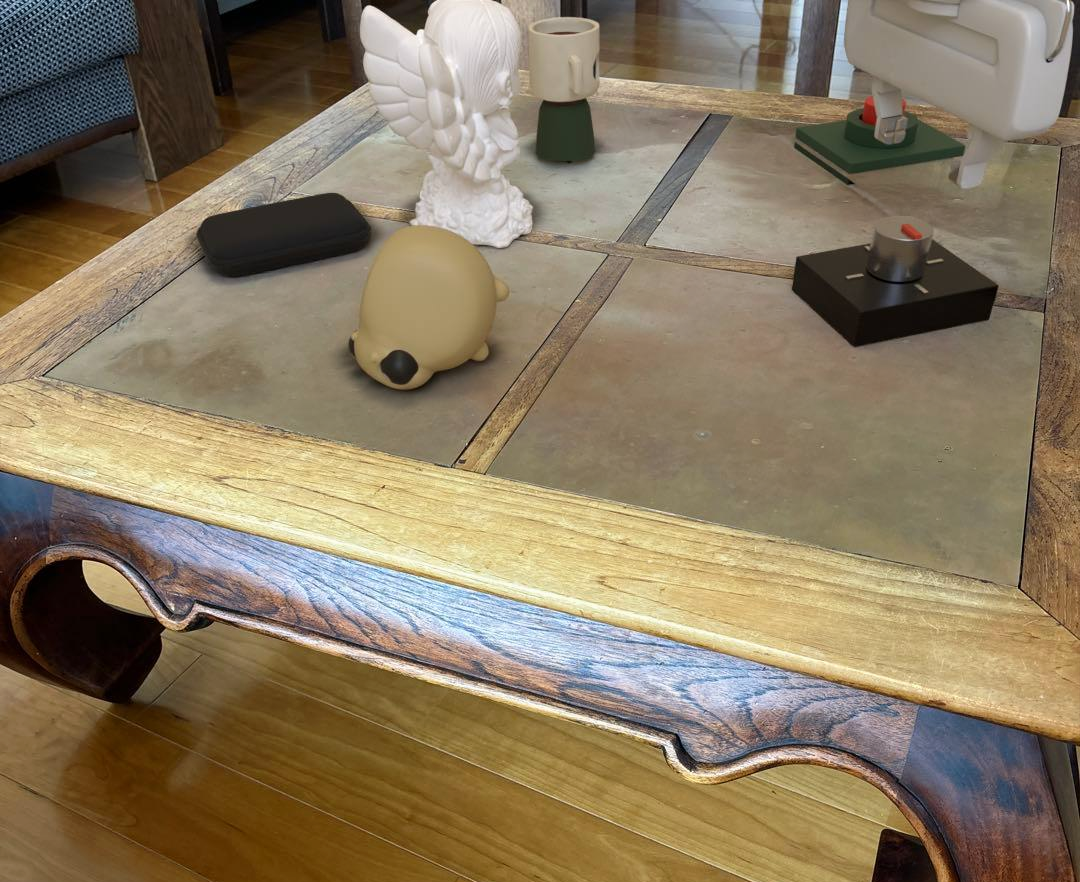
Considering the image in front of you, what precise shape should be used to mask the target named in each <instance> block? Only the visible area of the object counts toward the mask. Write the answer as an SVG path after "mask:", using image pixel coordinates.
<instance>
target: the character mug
mask: <svg viewBox="0 0 1080 882" xmlns="http://www.w3.org/2000/svg"><path fill="white" fill-rule="evenodd" d="M527 35H528V36H527V38H528V39H527V40H528V42H527V43H528V67H529V68H528V69H529V87H530V95H531V96H533V97H535V98H536V99H538V100H542V101H541V104H540V106H539V109H538V116H537V117H538V118H537V125H536V127H537V128H536V137H535V138H536V139H535V140H536V141H535V155H536V156H537V158H538V159H541V160H545V161H549V162H550V161H551V162H552V161H554V162H566V163H567V164H571V163H572V162H573V161H587V160H589V159H590V158H592V157H593V158H594V155H595V153H596V145H595V144H596V143H595V132H594V126H593V117H592V110H591V106H590V104H589V102H588V99H587V98H589V97H591V96H593V95H594V94H596V93H597V92H598V90H599V87H600V84H601V83H600V82H601V81H600V80H601V79H600V51H601V50H600V49H601V48H600V23H599V22H598V21H595V20H593V19H590V18H584V17H575V16H559V17H558V16H557V17H549V18H543V19H539V20H537V21H533V22H532V23H530V24H529V25H528V26H527Z"/></svg>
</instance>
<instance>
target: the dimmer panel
mask: <svg viewBox="0 0 1080 882" xmlns="http://www.w3.org/2000/svg"><path fill="white" fill-rule="evenodd" d="M870 245H871V242H869V243H865V244H857V245H852V246H848V247H842V248H836V249H831V250H825V251H819V252H814V253H808V254H802V255H798V256H796V257H795V263H794V264H795V265H794V269H793V270H794V271H793V278H792V284H791V291H792V292H793V293H794V294H795V295H797V296H798V297H799V298H800V299H801V300H802V301H803V302H804V303H806V304H807V305H808V307H810V308H811V309H812V310H813V311H814V312H815V313H816V314H818V316H820V317H821V318H822V319H823V320H824V321H825V322H826V323H827V324H828V325H830V326H831V328H833V329H834V330H835V331H836V332H837V333H838V334H839V335H841V336H842V337H843V338H844V339H845V340H846V341H847V342H848V343H849V344H850V345H852V347H854V348H857V347H861V346H866V345H871V344H876V343H881V342H886V341H890V340H891V341H892V340H896V339H901V338H906V337H911V336H916V335H921V334H925V333H926V334H927V333H931V332H935V331H942V330H946V329H950V328H954V327H960V326H965V325H971V324H975V323H981V322H985V321H989V320H990V318H991V315H992V311H993V308H994V304H995V302H996V298H997V295H998V294H997V293H998V290H999V287H1000V285H999V284H998V283H997V282H995V281H993V280H992V279H991V278H989V277H988V276H986V275H985V274H983V273H982V272H981V271H979V270H978V269H976V267H973V266H972V265H971V264H969V263H968V262H966V261H965V260H963V259H962V258H961V257H959V256H958V255H956V254H955V253H953V252H952V251H951V250H949V249H947V248H946V247H945V246H943V245H942V244H941V243H939V242H937V241H936V240H934V239H933V238H932V241H931V245H930V250H929V254H928V258H927V262H926V267H925V271H924V274H923V276H922V277H920V278H919V279H917V280H914V281H909V282H892V281H886V280H883V279H880V278H877V277H875V276H873V275H872V274H870V273H869V272H868V270H867V267H866V265H867V260H868V255H869V250H870Z"/></svg>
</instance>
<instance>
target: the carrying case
mask: <svg viewBox="0 0 1080 882" xmlns="http://www.w3.org/2000/svg"><path fill="white" fill-rule="evenodd" d="M372 231H373V229H372V226H371V225H370V224H369V223H368V221H367V220H366V219H365V218H364V217H363V215H362V214H361V212H359V210H358V209H357V208H356V206H355V205H354V204H353V202H352V201H350V200H349V199H347V198H346V197H345V196H344V195H342V194H341V193H338V192H324V193H318V194H314V195H308V196H302V197H297V198H292V199H287V200H281V201H277V202H272V203H265V204H262V205H261V204H260V205H256V206H250V207H247V208H241V209H235V210H231V211H226V212H222V213H216V214H213V215H210V216H207V217H205V218H204V220H202V222H201V224H200V226H199V227H198V229H197V231H196V234H195V235H196V240H197V242H198V244H199V246H200V249H201V250H202V253H203V255H204V257H205V260H206V261H207V263H208V265H209V267H211V269H213V270H215V271H217V272H218V273H219V274H221V275H222V276H225V277H231V278H232V277H234V278H235V277H242V276H247V275H251V274H257V273H261V272H265V271H270V270H276V269H280V268H285V267H290V266H294V265H300V264H304V263H309V262H313V261H318V260H323V259H327V258H331V257H336V256H341V255H344V254H349V253H354V252H356V251H359V250H361V249H362V248H364V247H365V246H366V244H367V242H368V241H369V240H370V238H371V237H372V233H373V232H372Z"/></svg>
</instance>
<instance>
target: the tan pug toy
mask: <svg viewBox="0 0 1080 882" xmlns="http://www.w3.org/2000/svg"><path fill="white" fill-rule="evenodd" d="M509 295H510V289H509V286H508V285H507V283H506V282H505V281H503V280H502V279H500V278H498V277H496V276H495V275H494V274H493V271H492V269H491V266H490V264H489V262H488V261H487V259H486V257H485V256H484V255H483V253H482V252H481V251H480V250H479V249H478V248H477V246H475V244H472V243H471V242H469V241H468V240H467V239H465V238H464V237H462V236H460V235H458V234H456V233H454V232H452V231H449V230H447V229H443V228H440V227H435V226H428V225H414V226H412V225H408V226H405V227H402V228H400V229H399V230H397V231H395V232H394V233H393V234H391V235H390V236H389V237H388V238H387V240H386V241H385V242H384V243H383V244H382V246H381V248H379V251H378V253H377V255H376V257H375V258H374V260H373V263H372V265H371V267H370V269H369V273H368V275H367V278H366V281H365V284H364V288H363V291H362V295H361V298H360V299H361V300H360V306H359V313H358V314H359V322H358V328H357V329H356V330H355V331H354V332H352V333H351V335H350V337H349V339H348V350H349V353H350V355H351V356H352V357H353V358H354V359H355V360H356V361H357V364H358V365H359V367H360V368H361V369H362V370H363V371H364V372H365V373H366V374H367V375H368V376H369V377H371V378H372V379H374V380H375V381H377V382H379V383H380V384H382V385H384V386H387V387H389V388H391V389H395V390H413V389H416V388H418V387H421V386H423V385H424V384H426V382H428V381H429V380H430V379H431V378H432V376H433V375H434V373H436V372H440V371H447V370H450V369H451V370H452V369H454V368H456V367H459V366H461V365H463V364H464V363H466V362H467V361H469V360H473V361H476V362H482V361H485V360H486V359H487V357H488V356H489V353H490V350H489V347H488V343H487V342H486V339H487V337H488V335H489V334H490V331H491V329H492V327H493V324H494V320H495V317H496V314H497V313H496V312H497V304H498V303H499V302H504V301H506V300H507V299H508V298H509Z"/></svg>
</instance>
